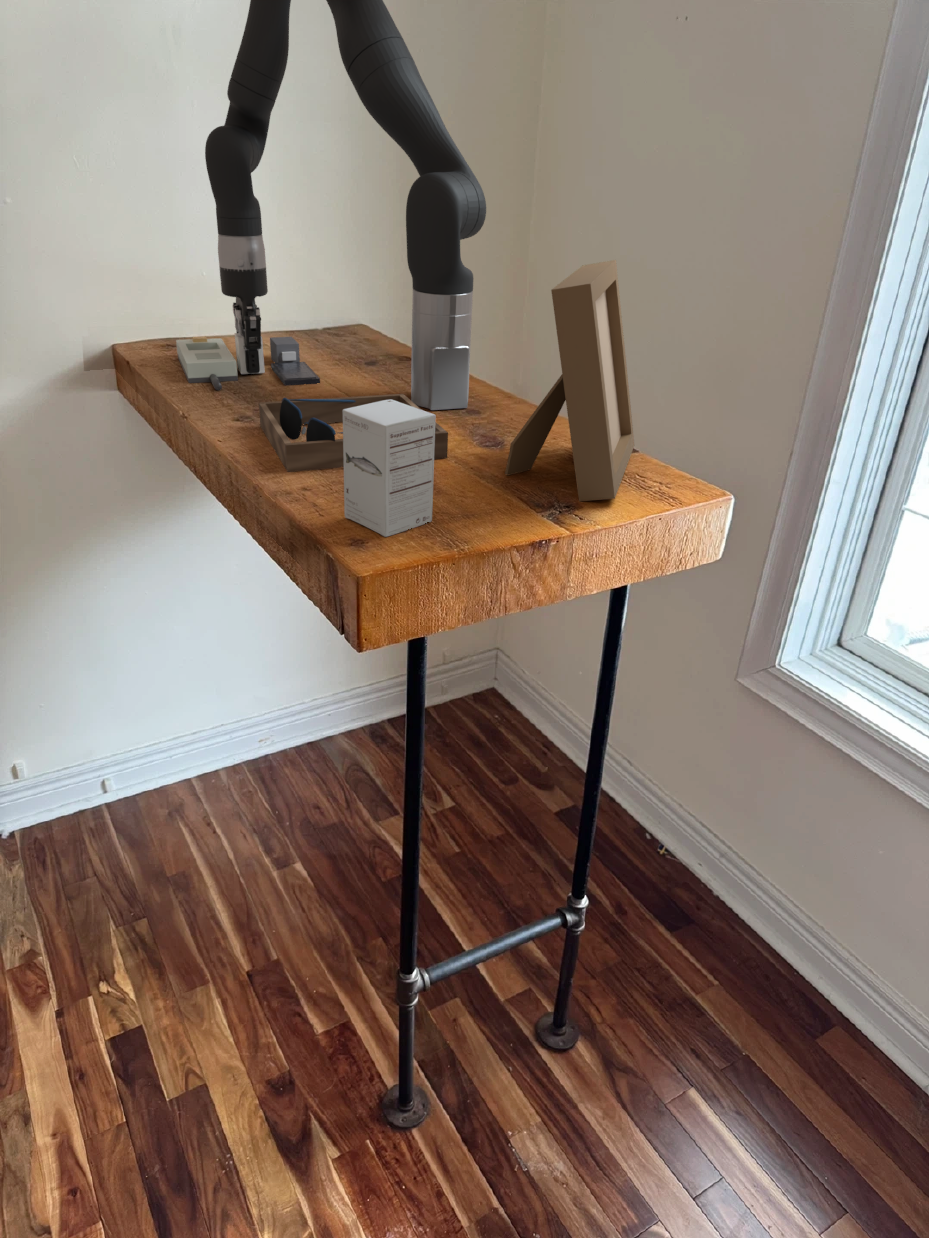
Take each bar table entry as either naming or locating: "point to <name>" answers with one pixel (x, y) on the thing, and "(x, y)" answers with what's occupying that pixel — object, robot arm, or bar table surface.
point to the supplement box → (388, 466)
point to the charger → (241, 354)
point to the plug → (284, 350)
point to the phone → (295, 373)
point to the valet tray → (325, 451)
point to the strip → (206, 361)
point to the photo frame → (586, 385)
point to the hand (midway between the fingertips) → (250, 369)
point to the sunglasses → (315, 428)
